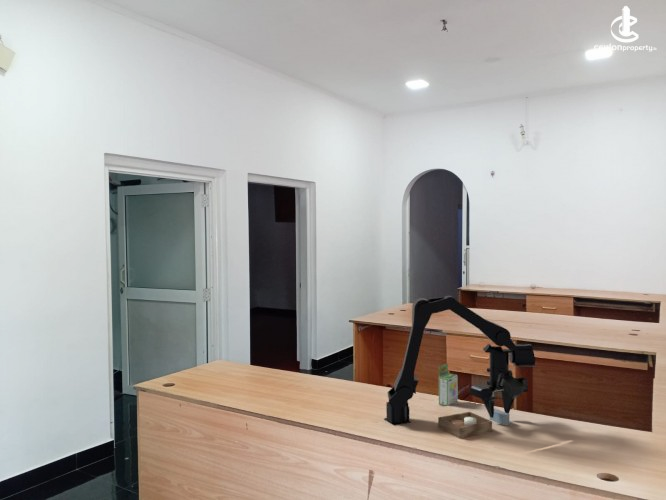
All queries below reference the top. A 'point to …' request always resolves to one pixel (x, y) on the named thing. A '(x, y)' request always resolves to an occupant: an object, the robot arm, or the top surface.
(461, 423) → the puck terracotta
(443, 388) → the ink box
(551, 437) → the top surface
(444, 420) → the box
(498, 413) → the lid
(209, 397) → the top surface
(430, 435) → the top surface
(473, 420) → the puck cream
